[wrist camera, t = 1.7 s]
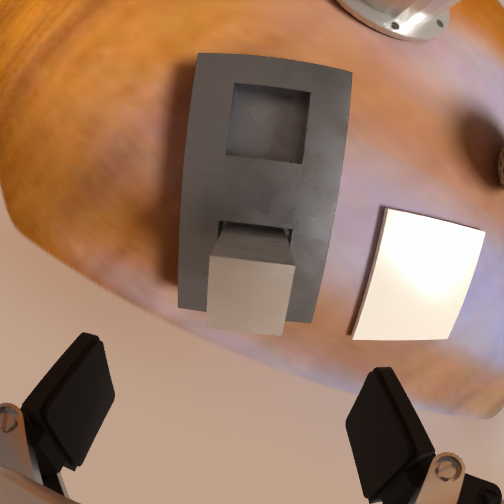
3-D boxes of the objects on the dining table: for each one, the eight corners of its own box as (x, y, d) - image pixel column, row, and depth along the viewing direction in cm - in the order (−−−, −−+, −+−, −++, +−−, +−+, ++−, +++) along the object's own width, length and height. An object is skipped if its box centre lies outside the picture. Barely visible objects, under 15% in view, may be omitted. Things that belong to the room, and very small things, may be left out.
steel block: (228, 218, 21) (209, 255, 13) (283, 225, 21) (295, 265, 13) (224, 269, 22) (205, 327, 14) (275, 275, 22) (281, 335, 14)
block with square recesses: (206, 66, 17) (198, 53, 15) (340, 82, 17) (352, 72, 15) (187, 289, 23) (177, 307, 20) (305, 303, 23) (311, 323, 20)
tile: (385, 207, 20) (388, 208, 20) (481, 230, 20) (485, 232, 20) (350, 335, 24) (352, 339, 24) (444, 335, 24) (447, 338, 24)
